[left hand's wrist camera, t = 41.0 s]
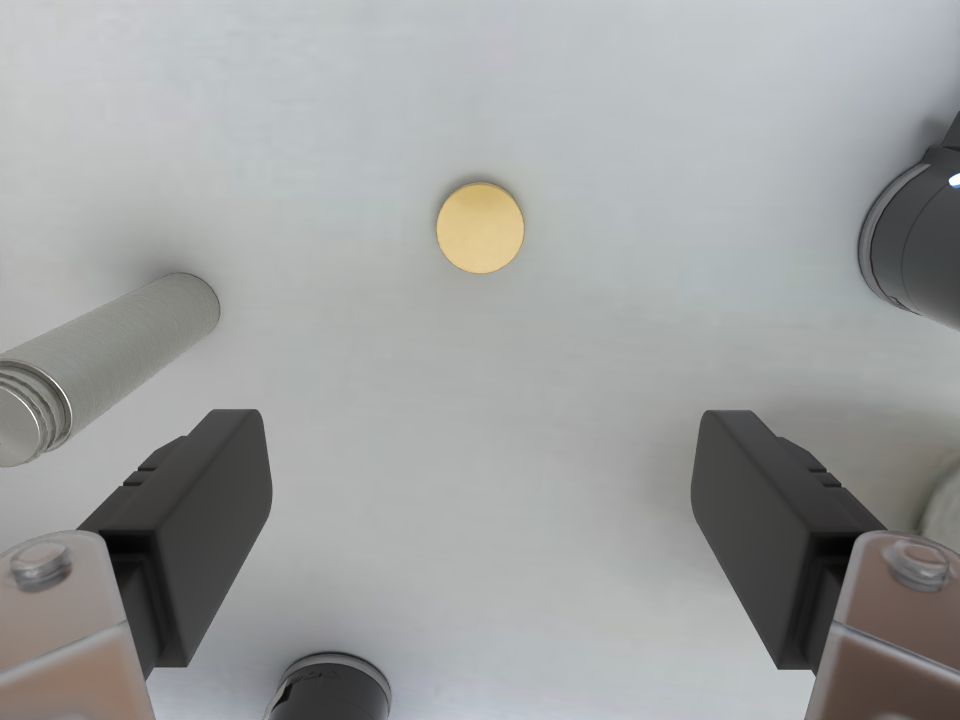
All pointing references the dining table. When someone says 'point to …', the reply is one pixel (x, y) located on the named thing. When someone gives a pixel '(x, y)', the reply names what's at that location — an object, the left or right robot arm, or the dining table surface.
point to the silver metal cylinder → (96, 363)
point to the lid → (480, 228)
